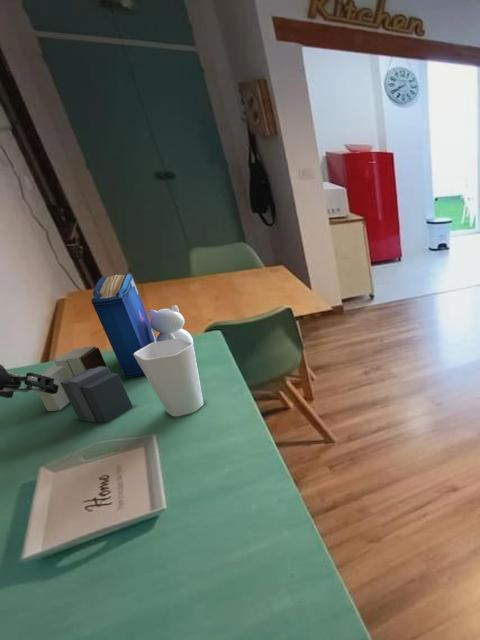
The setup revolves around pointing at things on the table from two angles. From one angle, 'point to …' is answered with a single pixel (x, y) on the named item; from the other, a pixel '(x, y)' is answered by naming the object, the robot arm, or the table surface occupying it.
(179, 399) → the cup
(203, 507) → the table surface
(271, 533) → the table surface
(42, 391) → the robot arm
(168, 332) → the cat figurine
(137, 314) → the book
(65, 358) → the grey brown block
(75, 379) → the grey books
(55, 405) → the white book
